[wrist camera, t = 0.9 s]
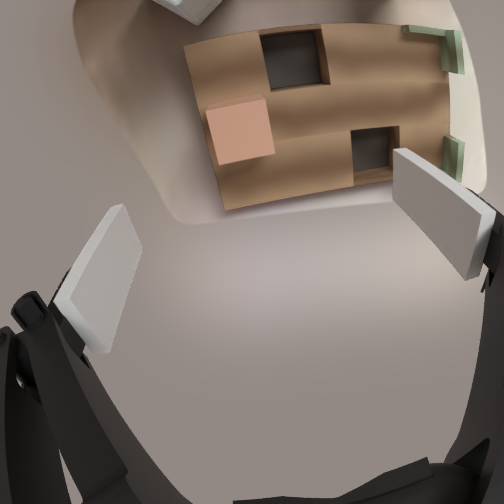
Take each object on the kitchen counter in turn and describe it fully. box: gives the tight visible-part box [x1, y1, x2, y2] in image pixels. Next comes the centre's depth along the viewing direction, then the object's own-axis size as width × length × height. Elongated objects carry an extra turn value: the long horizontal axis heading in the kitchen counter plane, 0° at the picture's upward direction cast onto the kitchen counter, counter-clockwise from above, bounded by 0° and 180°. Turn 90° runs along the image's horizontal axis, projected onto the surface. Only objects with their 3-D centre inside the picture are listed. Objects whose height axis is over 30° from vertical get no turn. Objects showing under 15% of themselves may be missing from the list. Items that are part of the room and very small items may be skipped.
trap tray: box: [183, 23, 465, 211], centre depth 27 cm, size 18×28×6 cm, turn 101°
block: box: [205, 95, 275, 165], centre depth 26 cm, size 5×5×4 cm
